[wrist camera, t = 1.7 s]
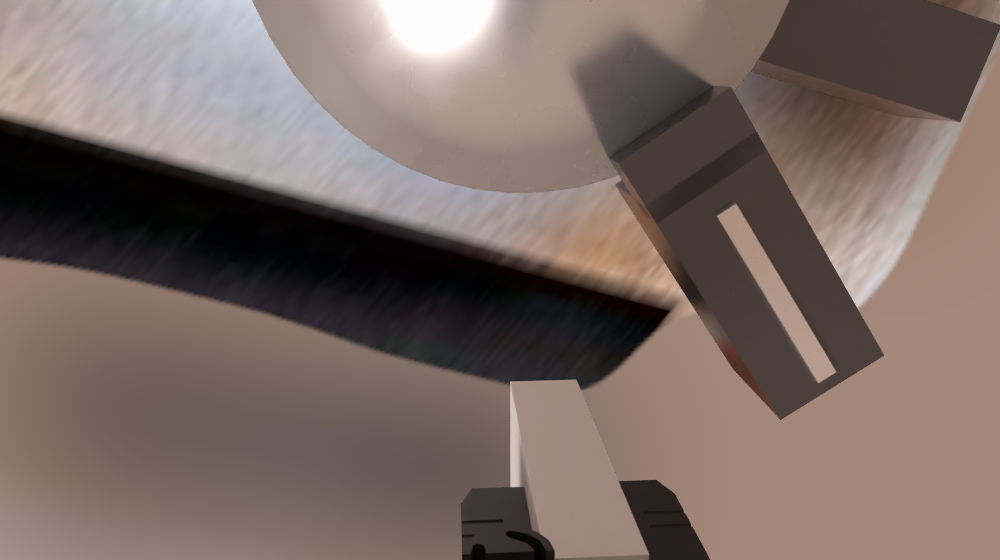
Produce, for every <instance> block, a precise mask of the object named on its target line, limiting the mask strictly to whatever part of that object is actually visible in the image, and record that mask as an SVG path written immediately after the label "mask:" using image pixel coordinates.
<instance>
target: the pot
mask: <svg viewBox="0 0 1000 560" xmlns="http://www.w3.org/2000/svg"><path fill="white" fill-rule="evenodd" d="M999 30H1000V25H999V24H996V23H993V22H990V21H987V20H984V19H981V18H978V17H975V16H972V15H969V14H965V13H962V12H959V11H956V10H953V9H950V8H947V7H944V6H941V5H938V4H935V3H932V2H929V1H926V0H789V2H788V5H787V7H786V9H785V11H784V13H783V15H782V17H781V19H780V22H779V24H778V26H777V28H776V30H775V32H774V34H773V36H772V38H771V40H770V41H769V43H768V44H767V46H766V48H765V49H764V51H763V53H762V54H761V56H760V57H759V59H758V61H757V62H756V64H755V66H754V67H753V69H752V70H751V71H752V72H755V73H758V74H762V75H765V76H768V77H771V78H775V79H778V80H781V81H784V82H788V83H791V84H794V85H798V86H801V87H804V88H807V89H811V90H814V91H817V92H820V93H824V94H827V95H830V96H834V97H837V98H840V99H843V100H847V101H850V102H853V103H856V104H860V105H863V106H866V107H870V108H873V109H876V110H879V111H883V112H886V113H889V114H892V115H896V116H904V117H914V118H924V119H934V120H945V121H955V122H961V119H962V117H963V115H964V112H965V110H966V108H967V105H968V103H969V100H970V98H971V96H972V93H973V91H974V89H975V86H976V84H977V82H978V79H979V77H980V75H981V72H982V70H983V67H984V65H985V63H986V60H987V58H988V56H989V53H990V51H991V49H992V46H993V44H994V41H995V39H996V37H997V34H998V32H999Z"/></svg>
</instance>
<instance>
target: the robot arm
mask: <svg viewBox="0 0 1000 560" xmlns="http://www.w3.org/2000/svg"><path fill="white" fill-rule="evenodd" d="M510 389H511V390H510V396H511V398H510V403H511V404H510V406H511V407H510V408H511V409H510V410H511V487H506V488H504V487H503V488H478V489H471V491H470V492H469V493H468V495H467V496H466V498H465V499H464V501H463V502H462V503H461V520H462V521H461V522H462V560H710V559H709V557H708V555H707V553H706V551H705V549H704V547H703V545H702V544H701V542H700V540H699V538H698V536H697V534H696V533H695V531H694V529H693V527H691V523H690V521H689V519H688V518H687V516H686V514H685V513H684V512H683V508H682V507H681V505H680V503H679V501H678V499H677V497H676V495H675V494H674V493H673V492H672V491H670V490H669V489H667V488H666V487H665V486H664V485H662V484H661V483H660V482H658V481H657V480H641V481H618V479H617V476H616V474H615V471H614V469H613V467H612V464H611V462H610V460H609V457H608V455H607V452H606V450H605V447H604V445H603V443H602V440H601V438H600V435H599V433H598V431H597V428H596V426H595V423H594V421H593V419H592V416H591V414H590V411H589V409H588V407H587V405H586V402H585V400H584V397H583V395H582V392H581V390H580V387H579V385H578V383H577V380H552V381H517V382H510Z"/></svg>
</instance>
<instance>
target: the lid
mask: <svg viewBox="0 0 1000 560" xmlns="http://www.w3.org/2000/svg"><path fill="white" fill-rule="evenodd" d="M788 2H789V0H253V3H254V5H255V7H256V9H257V11H258V13H259V15H260V17H261V20H262V22H263V24H264V26H265V28H266V30H267V32H268V34H269V36H270V38H271V40H272V41H273V43H274V45H275V46H276V48H277V49H278V51H279V52H280V54H281V55H282V57H283V58H284V60H285V62H286V63H287V65H288V66H289V68H290V69H291V71H292V72H293V74H294V75H295V76H296V77H297V78H298V80H299V81H300V82H301V83H302V84H303V86H304V87H305V88H306V89H307V90H308V92H309V93H310V94H311V95H312V96H313V98H314V99H315V100H316V101H317V102H318V103H319V104H320V105H321V106H322V107H323V108H324V109H325V110H326V111H327V112H328V113H329V114H330V115H331V116H333V117H334V118H335V119H336V120H337V121H338V122H339V123H340V124H341V125H342V126H343V127H344V128H345V129H347V130H348V131H350V132H351V133H352V134H354V135H355V136H356V137H358V138H359V139H361V140H362V141H363V142H365V143H366V144H367V145H369V146H370V147H372V148H373V149H374V150H376V151H378V152H380V153H381V154H383V155H385V156H387V157H389V158H390V159H392V160H394V161H396V162H398V163H400V164H401V165H403V166H405V167H407V168H409V169H412V170H415V171H417V172H420V173H422V174H425V175H427V176H430V177H432V178H435V179H438V180H440V181H444V182H448V183H452V184H456V185H460V186H464V187H468V188H472V189H479V190H487V191H496V192H505V193H534V192H549V191H556V190H563V189H569V188H576V187H580V186H584V185H588V184H591V183H595V182H598V181H602V180H605V179H609V178H612V177H614V176H617V175H619V176H620V177H621V179H622V181H620V182H619V183H617V184H616V187H617V189H618V190H619V192H620V193H621V195H622V196H623V198H624V200H625V201H626V203H627V204H628V206H629V207H630V209H631V211H632V212H633V214H634V215H635V217H636V218H637V220H638V221H639V223H640V225H641V226H642V228H643V229H644V231H645V232H646V234H647V236H648V237H649V239H650V240H651V242H652V243H653V245H654V246H655V248H656V250H657V251H658V253H659V254H660V256H661V257H662V259H663V261H664V262H665V264H666V265H667V267H668V268H669V270H670V271H671V273H672V275H673V276H674V278H675V279H676V281H677V282H678V284H679V286H680V287H681V289H682V290H683V292H684V293H685V295H686V297H687V298H688V300H689V301H690V303H691V304H692V306H693V307H694V309H695V311H696V312H697V314H698V315H699V316H700V318H701V320H702V321H703V323H704V325H705V326H706V328H707V329H708V331H709V332H710V334H711V335H712V337H713V339H714V340H715V342H716V343H717V345H718V346H719V348H720V350H721V351H722V353H723V354H724V356H725V357H726V359H727V360H728V362H729V364H730V365H731V367H732V368H733V370H734V371H735V372H736V373H737V374H738V375H739V376H740V377H741V378H742V379H743V380H744V381H745V382H746V384H747V385H748V386H749V387H750V388H751V389H752V390H753V391H754V392H755V393H756V394H757V395H758V396H759V397H760V398H761V400H762V401H763V402H764V403H765V404H766V405H767V406H768V407H769V408H770V409H771V410H772V411H773V412H774V413H775V414H776V415H777V416H778V418H779V419H780V420H781V419H783V418H784V417H786V416H787V415H789V414H791V413H792V412H794V411H796V410H797V409H799V408H800V407H802V406H804V405H805V404H807V403H809V402H810V401H812V400H813V399H815V398H817V397H818V396H819V395H821V394H823V393H825V392H826V391H828V390H829V389H831V388H832V387H834V386H836V385H837V384H839V383H841V382H842V381H844V380H845V379H847V378H848V377H850V376H852V375H854V374H855V373H857V372H858V371H860V370H862V369H863V368H865V367H866V366H868V365H870V364H871V363H873V362H874V361H876V360H878V359H879V358H881V357H882V356H884V354H883V353H882V351H881V349H880V347H879V346H878V344H877V342H876V340H875V339H874V337H873V335H872V333H871V332H870V330H869V328H868V326H867V325H866V323H865V321H864V319H863V318H862V316H861V314H860V312H859V311H858V309H857V307H856V305H855V304H854V302H853V300H852V298H851V297H850V295H849V293H848V291H847V290H846V288H845V286H844V284H843V283H842V281H841V279H840V277H839V276H838V274H837V272H836V270H835V268H834V267H833V265H832V263H831V261H830V260H829V258H828V256H827V254H826V253H825V251H824V249H823V247H822V246H821V244H820V242H819V240H818V239H817V237H816V235H815V233H814V232H813V230H812V228H811V226H810V225H809V223H808V221H807V219H806V218H805V216H804V214H803V212H802V211H801V209H800V207H799V205H798V204H797V202H796V200H795V198H794V197H793V195H792V193H791V191H790V190H789V188H788V186H787V184H786V183H785V181H784V179H783V177H782V176H781V174H780V172H779V170H778V169H777V167H776V165H775V163H774V162H773V160H772V158H771V156H770V155H769V153H768V151H767V149H766V148H765V146H764V144H763V142H762V140H761V139H760V137H759V135H758V133H757V132H756V130H755V128H754V126H753V125H752V123H751V121H750V119H749V118H748V116H747V114H746V112H745V111H744V109H743V107H742V105H741V104H740V102H739V100H738V98H737V97H736V95H735V93H734V91H735V90H736V89H737V88H738V86H739V85H740V84H741V82H742V81H743V80H744V79H745V77H746V76H747V75H748V74H749V72H750V71H751V70H752V69H753V67H754V66H755V64H756V62H757V61H758V59H759V57H760V56H761V54H762V53H763V51H764V49H765V48H766V46H767V44H768V43H769V41H770V40H771V38H772V36H773V34H774V32H775V30H776V28H777V26H778V24H779V22H780V19H781V17H782V15H783V13H784V11H785V9H786V7H787V5H788Z"/></svg>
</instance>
